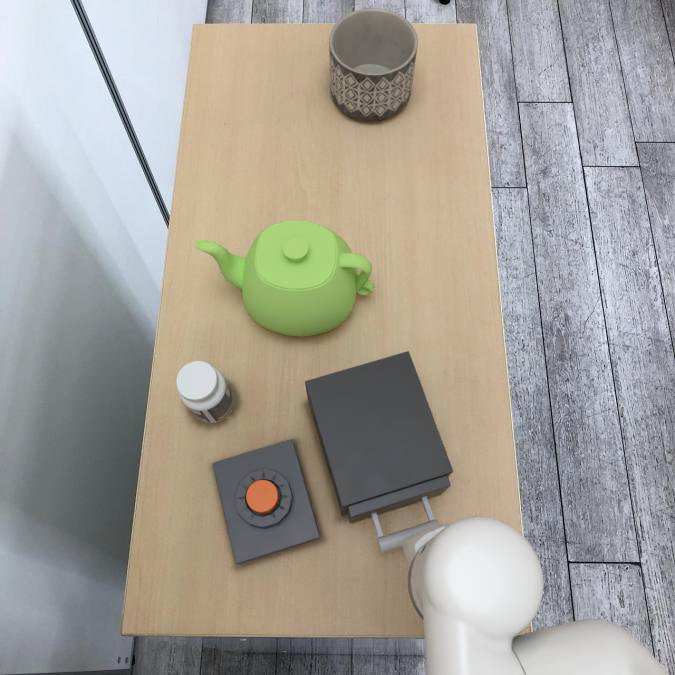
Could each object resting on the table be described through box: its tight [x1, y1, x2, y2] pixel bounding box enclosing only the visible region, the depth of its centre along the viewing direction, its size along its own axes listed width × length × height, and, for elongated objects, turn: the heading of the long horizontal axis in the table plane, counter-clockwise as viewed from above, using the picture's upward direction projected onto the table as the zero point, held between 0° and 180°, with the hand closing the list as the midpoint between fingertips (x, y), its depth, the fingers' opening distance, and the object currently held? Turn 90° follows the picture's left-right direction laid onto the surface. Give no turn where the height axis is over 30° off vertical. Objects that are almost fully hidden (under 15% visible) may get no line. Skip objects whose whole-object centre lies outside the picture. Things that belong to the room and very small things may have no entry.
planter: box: [328, 7, 419, 122], centre depth 94 cm, size 13×13×10 cm
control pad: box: [212, 438, 321, 565], centre depth 74 cm, size 12×10×4 cm
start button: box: [246, 480, 279, 514], centre depth 72 cm, size 4×4×2 cm
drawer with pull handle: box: [346, 475, 452, 554], centre depth 73 cm, size 18×11×8 cm, turn 17°
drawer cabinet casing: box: [304, 350, 454, 517], centre depth 74 cm, size 15×13×10 cm
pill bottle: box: [175, 360, 236, 424], centre depth 76 cm, size 6×6×10 cm
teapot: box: [193, 220, 375, 337], centre depth 80 cm, size 22×15×13 cm
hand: (428, 590), depth 66 cm, fingers closed
